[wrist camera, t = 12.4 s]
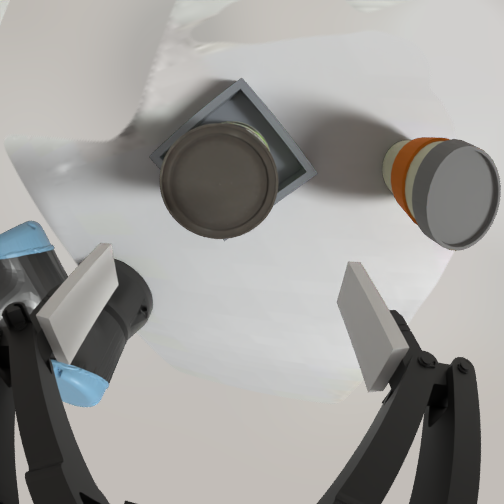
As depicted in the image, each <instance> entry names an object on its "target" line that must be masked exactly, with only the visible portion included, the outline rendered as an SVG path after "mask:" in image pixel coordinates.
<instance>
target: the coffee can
mask: <svg viewBox="0 0 504 504" xmlns="http://www.w3.org/2000/svg"><path fill="white" fill-rule="evenodd" d="M160 190H161V195H162V198H163V201H164V204H165V206H166V208H167V209H168V211H169V213H170V214H171V215H172V216H173V218H174V219H175V220H176V221H177V222H178V223H179V224H180V225H182V226H183V227H184V228H186V229H187V230H189V231H191V232H193V233H195V234H197V235H200V236H203V237H208V238H214V239H227V238H233V237H237V236H240V235H242V234H245V233H247V232H249V231H251V230H252V229H254V228H255V227H257V226H258V225H259V224H260V223H261V222H262V221H263V220H264V219H265V218H266V217H267V215H268V214H269V212H270V211H271V209H272V207H273V205H274V202H275V200H276V196H277V192H278V173H277V167H276V164H275V162H274V159H273V157H272V155H271V153H270V150H269V146H268V144H267V142H266V140H265V138H264V137H263V136H262V134H261V133H260V132H259V131H257V130H256V129H255V128H253V127H252V126H250V125H248V124H245V123H242V122H237V121H227V122H222V123H214V124H206V125H202V126H199V127H196V128H194V129H192V130H190V131H188V132H187V133H185V134H184V135H182V136H181V137H180V138H178V139H177V140H176V141H175V142H174V144H173V145H172V146H171V147H170V149H169V150H168V152H167V154H166V155H165V158H164V160H163V163H162V166H161V171H160Z"/></svg>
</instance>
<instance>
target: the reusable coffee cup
mask: <svg viewBox="0 0 504 504" xmlns="http://www.w3.org/2000/svg"><path fill="white" fill-rule="evenodd" d="M382 173H383V178H384V181H385V184H386V185H387V187H388V188H389V190H390V191H391V192H392V193H393V194H394V197H395V199H396V201H397V203H398V204H399V205H400V206H401V207H402V208H403V210H404V211H405V212H406V213H407V214H408V216H409V217H410V218H411V219H412V221H413V222H414V223H415V224H417V225H418V226H419V228H420V229H421V230H422V232H423V233H424V234H425V235H426V236H427V237H429V238H430V239H432V240H433V241H435V242H436V243H438V244H439V245H441V246H442V247H444V248H446V249H449V250H455V251H457V250H463V249H466V248H469V247H471V246H472V245H474V244H476V243H477V242H478V241H479V240H480V239H481V238H482V237H483V236H484V235H485V234H486V233H487V231H488V230H489V228H490V227H491V225H492V223H493V221H494V219H495V216H496V214H497V210H498V207H499V202H500V190H501V189H500V187H501V186H500V178H499V174H498V171H497V168H496V166H495V164H494V162H493V160H492V159H491V157H490V156H489V155H488V154H487V153H486V152H485V151H483V150H482V149H480V148H478V147H476V146H474V145H471V144H469V143H467V142H465V141H462V140H457V139H452V140H449V139H447V138H425V137H422V138H416V139H414V140H404V141H400V142H398V143H396V144H394V145H393V146H392V147H391V148H390V149H389V150H388V152H387V153H386V155H385V158H384V160H383V166H382Z"/></svg>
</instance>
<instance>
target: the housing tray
mask: <svg viewBox="0 0 504 504" xmlns="http://www.w3.org/2000/svg"><path fill="white" fill-rule="evenodd" d="M227 121H237V122H242V123H245V124H248V125H250V126H252V127H253V128H255V129H256V130H257V131H259V132H260V133H261V134H262V136H263V137H264V138H265V140H266V142H267V144H268V146H269V150H270V153H271V155H272V157H273V159H274V162H275V164H276V167H277V173H278V192H277V196H276V200H275V202H274V205H275V204H276V203H277V202H279V201H280V200H282V199H283V198H284V197H286V196H287V195H289V194H290V193H291V192H293V191H294V190H296V189H297V188H298V187H300V186H301V185H303V184H304V183H305V182H307V181H308V180H310V179H311V178H313V177H314V176H315V175H317V174H318V173H317V172H316V170H315V169H314V168H313V166H312V165H311V163H310V162H309V161H308V159H307V158H306V157H305V155H304V154H303V152H302V151H301V150H300V148H299V147H298V146H297V144H296V143H295V142H294V140H293V139H292V138H291V137H290V135H289V134H288V133H287V131H286V130H285V129H284V127H283V126H282V125H281V124H280V122H279V121H278V120H277V119H276V117H275V116H274V115H273V114H272V112H271V111H270V110H269V109H268V108H267V106H266V105H265V104H264V103H263V102H262V100H261V99H260V98H259V97H258V96H257V94H256V93H255V92H254V91H253V90H252V89H251V87H250V86H249V85H248V84H247V83H246V82H245V81H244V79H243V78H241V79H239V80H238V81H237V82H235V83H234V84H232V85H231V86H230V87H229V88H227V89H226V90H225V91H223V92H222V93H221V94H219V95H218V96H217V97H216V98H214V99H213V100H212V101H211V102H209V103H208V104H207V105H206V106H205V107H203V108H202V109H201V110H200V111H199V112H197V113H196V114H195V115H194V116H193V117H192V118H190V119H189V120H188V121H187V122H186V123H185V124H184V125H182V126H181V127H180V128H179V129H178V130H177V131H176V132H175V133H174V134H172V135H171V136H170V137H169V138H168V139H167V140H166V141H165V142H164V143H163V144H162V145H161V146H160V147H159V148H158V149H157V150H156V151H154V152H153V153H152V154H151V155H150V156H149V157H150V159H151V160H152V161H153V162H154V163H155V164H156V165H157V166H158V168H159V169H160V170H161V166H162V163H163V160H164V158H165V155H166V154H167V152H168V150H169V149H170V147H171V146H172V145H173V144H174V142H175V141H176V140H177V139H178V138H180V137H181V136H182V135H184V134H185V133H187V132H188V131H190V130H192V129H194V128H196V127H199V126H202V125H206V124H214V123H222V122H227ZM227 239H228V238H227ZM227 239H223V240H224V241H225V240H227Z"/></svg>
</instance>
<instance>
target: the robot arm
mask: <svg viewBox="0 0 504 504" xmlns="http://www.w3.org/2000/svg"><path fill="white" fill-rule="evenodd" d="M337 304H338V307H339V309H340V312H341V315H342V317H343V320H344V323H345V326H346V328H347V331H348V334H349V337H350V339H351V342H352V345H353V348H354V351H355V354H356V357H357V360H358V363H359V365H360V368H361V371H362V374H363V378H364V381H365V384H366V387H367V390H368V392H376V391H383V390H384V389H385V387H386V386H387V384H388V383H389V384H390V387H391V390H390V392H389V393H388V395H387V396H386V397H385V399H384V400H383V402H382V403H383V405H382V407H381V408H380V410H379V412H378V414H377V416H376V418H375V419H374V421H373V423H372V425H371V426H370V428H369V430H368V432H367V433H366V435H365V437H364V438H363V440H362V441H361V443H360V445H359V446H358V448H357V449H356V451H355V452H354V454H353V455H352V457H351V458H350V460H349V461H348V463H347V464H346V466H345V467H344V469H343V470H342V471H341V473H340V474H339V476H338V477H337V479H336V480H335V481H334V483H333V484H332V485H331V486H330V488H329V489H328V490H327V492H326V493H325V495H323V497H322V498H321V499H320V500H319V502H318V503H317V504H381V503H382V501H383V500H384V498H385V496H386V494H387V493H388V491H389V489H390V487H391V485H392V483H393V482H394V480H395V478H396V476H397V474H398V472H399V470H400V468H401V466H402V464H403V462H404V460H405V458H406V456H407V454H408V451H409V449H410V447H411V445H412V442H413V440H414V437H415V435H416V432H417V430H418V428H419V425H420V422H421V420H422V417H423V414H424V420H423V430H422V438H421V447H420V453H419V459H418V465H417V471H416V476H415V481H414V485H413V490H412V494H411V498H410V502H409V504H477V500H478V490H479V480H480V463H481V431H480V411H479V400H478V390H477V382H476V374H475V370H474V366H473V365H472V363H471V362H470V361H468V360H467V359H465V358H463V357H457V358H455V359H454V360H453V362H452V363H451V364H450V365H448V364H442V363H438V362H437V360H436V358H435V357H434V356H433V355H432V354H430V353H429V352H426V351H422V350H421V348H420V346H419V344H418V343H417V341H416V339H415V337H414V335H413V334H412V332H411V331H410V329H409V327H408V325H407V323H406V322H405V320H404V318H403V317H402V316H401V315H400V314H399V313H398V312H397V311H396V310H389V309H388V307H387V306H386V304H385V302H384V300H383V299H382V297H381V295H380V294H379V292H378V290H377V289H376V287H375V285H374V283H373V282H372V280H371V279H370V277H369V275H368V274H367V272H366V270H365V269H364V267H363V266H362V264H361V262H348V264H347V268H346V271H345V275H344V279H343V282H342V286H341V289H340V293H339V296H338V300H337ZM152 308H153V299H152V295H151V292H150V289H149V287H148V285H147V284H146V282H145V281H144V279H143V278H142V277H141V276H140V275H139V274H138V273H137V272H136V271H135V270H134V269H133V268H131V267H130V266H128V265H127V264H125V263H123V262H121V261H118V260H115V259H114V256H113V250H112V244H108V243H100V244H99V245H98V246H97V247H96V248H95V249H94V250H93V251H92V252H91V253H90V254H89V255H88V256H87V257H86V258H85V259H84V260H83V261H82V263H81V264H80V265H79V266H78V267H77V268H76V269H75V270H74V271H73V272H72V273H71V275H70V276H69V277H68V276H67V274H66V272H65V270H64V269H63V267H62V265H61V263H60V261H59V259H58V257H57V255H56V253H55V251H54V246H53V245H51V244H50V242H49V240H48V238H47V236H46V234H45V232H44V230H43V228H42V227H41V225H40V224H39V223H37V222H35V221H27V222H25V223H23V224H20V225H18V226H16V227H14V228H12V229H10V230H8V231H6V232H4V233H2V234H0V504H19V498H18V489H17V480H16V469H15V448H14V424H15V411H16V416H17V422H18V427H19V431H20V436H21V440H22V444H23V448H24V452H25V455H26V459H27V462H28V465H29V471H28V472H26V473H25V479H26V484H27V486H28V489H29V492H30V495H31V497H32V500H33V503H34V504H109V502H108V501H107V499H106V498H105V496H104V495H103V494H102V492H101V491H100V490H99V489H98V487H97V486H96V484H95V482H94V480H93V478H92V476H91V474H90V472H89V470H88V468H87V466H86V463H85V461H84V459H83V457H82V454H81V452H80V450H79V447H78V445H77V443H76V440H75V437H74V435H73V432H72V430H71V427H70V424H69V421H68V418H67V415H66V412H65V409H64V406H63V403H62V401H63V402H66V403H69V404H72V405H75V406H80V407H92V406H95V405H96V404H98V403H99V401H100V400H101V398H102V396H103V394H104V392H105V390H106V389H107V388H108V386H109V383H110V380H111V378H112V375H113V373H114V370H115V368H116V365H117V363H118V361H119V358H120V356H121V353H122V351H123V349H124V346H125V344H126V342H127V340H128V339H129V338H130V337H131V336H133V335H134V334H135V333H136V332H137V331H138V330H139V329H141V328H142V327H143V326H144V325H145V323H146V322H147V320H148V318H149V316H150V314H151V311H152ZM124 504H135V503H132V502H128V501H125V503H124Z"/></svg>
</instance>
